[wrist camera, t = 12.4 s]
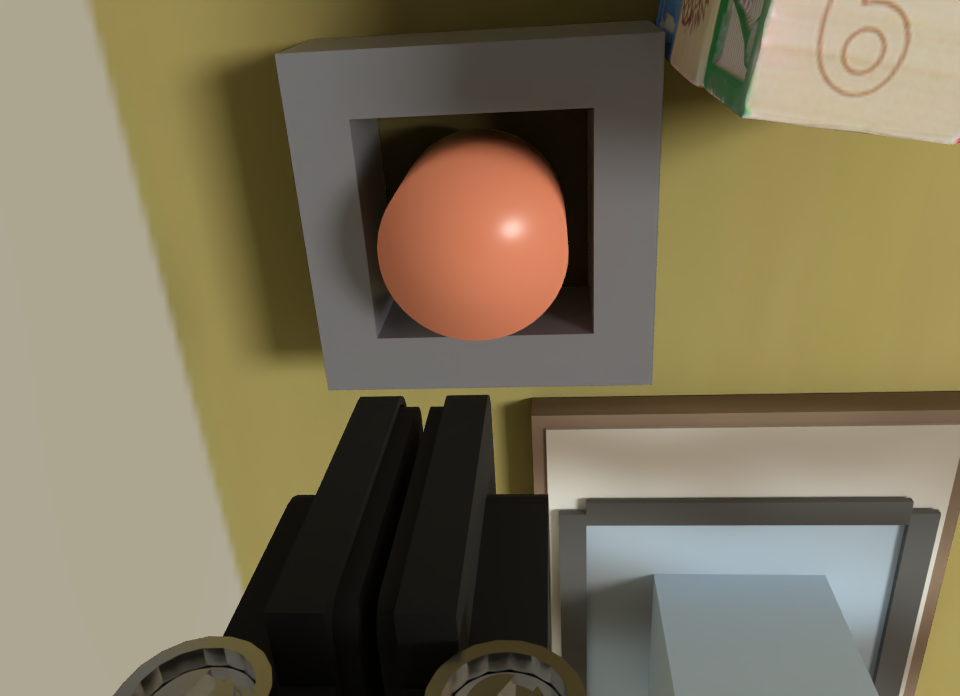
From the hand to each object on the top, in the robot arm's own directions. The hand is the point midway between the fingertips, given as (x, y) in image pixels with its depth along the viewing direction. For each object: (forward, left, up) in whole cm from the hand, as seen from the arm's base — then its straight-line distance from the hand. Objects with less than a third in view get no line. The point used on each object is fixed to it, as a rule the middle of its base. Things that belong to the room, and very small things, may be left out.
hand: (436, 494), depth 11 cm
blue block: (+15, -3, -11) cm, 18 cm away
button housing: (-1, 0, -12) cm, 12 cm away
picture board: (+15, -3, -12) cm, 19 cm away
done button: (-1, 0, -10) cm, 10 cm away
